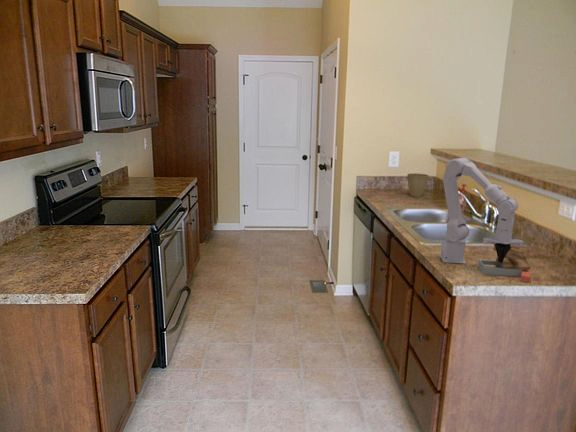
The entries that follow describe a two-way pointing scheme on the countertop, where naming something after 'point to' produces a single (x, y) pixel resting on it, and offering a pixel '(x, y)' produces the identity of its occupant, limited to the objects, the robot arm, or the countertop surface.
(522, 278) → the red block
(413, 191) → the plant pot
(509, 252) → the wooden fragment
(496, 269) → the gray box
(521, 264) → the lid
